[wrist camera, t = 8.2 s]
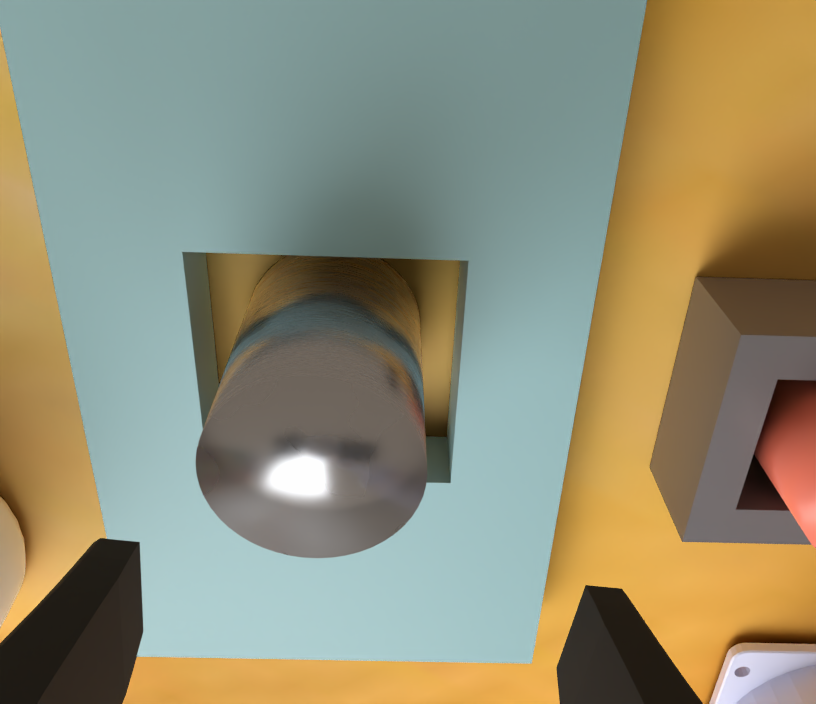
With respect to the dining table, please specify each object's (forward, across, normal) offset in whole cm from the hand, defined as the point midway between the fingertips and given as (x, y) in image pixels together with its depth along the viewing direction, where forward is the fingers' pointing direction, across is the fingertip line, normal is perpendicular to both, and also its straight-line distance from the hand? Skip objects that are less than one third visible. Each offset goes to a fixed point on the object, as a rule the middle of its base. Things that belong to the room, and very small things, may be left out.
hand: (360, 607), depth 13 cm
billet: (+9, +1, 0) cm, 9 cm away
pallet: (+9, +1, 0) cm, 9 cm away
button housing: (+9, -11, 0) cm, 14 cm away
